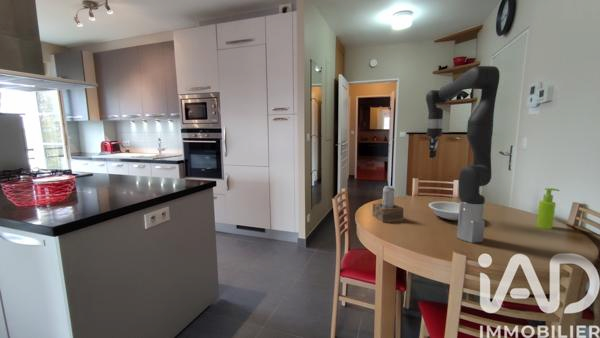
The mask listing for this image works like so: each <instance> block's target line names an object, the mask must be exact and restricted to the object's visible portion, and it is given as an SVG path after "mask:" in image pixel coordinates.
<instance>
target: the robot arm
mask: <svg viewBox="0 0 600 338" xmlns="http://www.w3.org/2000/svg"><path fill="white" fill-rule="evenodd" d="M500 76H501V75H500V70H499V68H498V67H497V66H493V65H491V66H490V65H477V66H473V67H471V68H470V69H468V70H466V72H465V73H463V74H462V75H461V76H459V77H457V78H456V79H455V80H454V81H453V82H450V83H448V84H446V85H444V86H442V87H441V88H440V89H438V90H437V89H432V90H429V91H427V94H426V96H425V101H426V105H427V111H428V118H427V124H426V125H427V127H426V137H430V138H429V146H428V147H429V148H428V150H429V155H428V156H429V158H430V159H433V158H435V157H436V156H437V150H438V144H439V137H442V136H443V128H444V127H443V125H444V122H443V117H444V116H443V115H444V109H443V108H440V107H438V106H437V105H438V104H439V105H440V104H441V105H442V104H445V103H447V102H449V100H451V99H453V98H455V97H457V96H460V95H461V93H462V92H463V91H464V90H469V89H471V90H472V89H473V90H481V91H480V92H481V94H480V100H479V102H478V104H477V106H476V107H475V109H474V110H473V112H471V114H470V116H469V118H468V121H467V125H466V127H467V128H466V139H467V141H468V144H469V146H470V148H471V150H472V153H473V161H472V165H470V166H464V167H463V168H462V169H461V170H460V172H459V177H458V195H459V203H460V206H459V217H458V220H457V231H456V237H457V238H458V239H460V240H461V241H464V242H468V243H471V244H473V243H482V242H483V241H484V232H485V225H486V224H485V223H486V222H485V220H484V212H485V203H486V202H485V201H486V198H485V196H484V195H482V194H480V187H485V186H487V185H488V184H489V183H490V182H491V179H492V141H493V134H494V133H493V132H494V116H495V109H496V108H495V106H496V99H497V93H498V89H499V83H500V78H501V77H500Z"/></svg>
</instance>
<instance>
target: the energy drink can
mask: <svg viewBox="0 0 600 338" xmlns="http://www.w3.org/2000/svg"><path fill="white" fill-rule="evenodd" d="M382 189H383V190H382V203H383V204H382V207H384V208H394V204H395V188H394V186H392V185H384V187H383V188H382Z"/></svg>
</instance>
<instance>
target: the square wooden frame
mask: <svg viewBox="0 0 600 338" xmlns="http://www.w3.org/2000/svg"><path fill="white" fill-rule="evenodd" d="M382 204H383V202H380V203H372V213H371V214H372V217H373V218H375V219H377V220H378V221H380V222H381V223H393V222H404V207H401V206H399V205H397V204H396V203H394V208H384V207H382Z"/></svg>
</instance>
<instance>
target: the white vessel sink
mask: <svg viewBox="0 0 600 338" xmlns="http://www.w3.org/2000/svg"><path fill="white" fill-rule="evenodd" d="M459 206H460V202H454V201H433V202H430V203H428V207H429V208H431V210H432V211H433V213H434V214H435V215H437V216H438V217H440V218H441V219H446V220H450V221H458V217H459Z"/></svg>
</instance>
